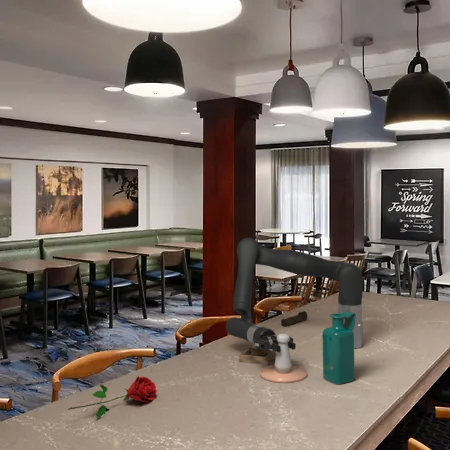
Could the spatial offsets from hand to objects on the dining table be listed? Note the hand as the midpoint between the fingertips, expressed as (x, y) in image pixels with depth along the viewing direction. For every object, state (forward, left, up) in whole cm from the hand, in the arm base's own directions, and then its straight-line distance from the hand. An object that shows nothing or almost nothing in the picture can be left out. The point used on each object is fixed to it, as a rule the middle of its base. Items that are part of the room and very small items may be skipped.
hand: (287, 347), depth 175 cm
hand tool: (+17, -74, -10) cm, 77 cm away
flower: (+40, +42, -10) cm, 59 cm away
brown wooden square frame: (+16, -16, -10) cm, 24 cm away
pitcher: (-17, -4, -10) cm, 20 cm away
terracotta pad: (+2, -2, -10) cm, 10 cm away
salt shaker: (+2, -2, -9) cm, 9 cm away
